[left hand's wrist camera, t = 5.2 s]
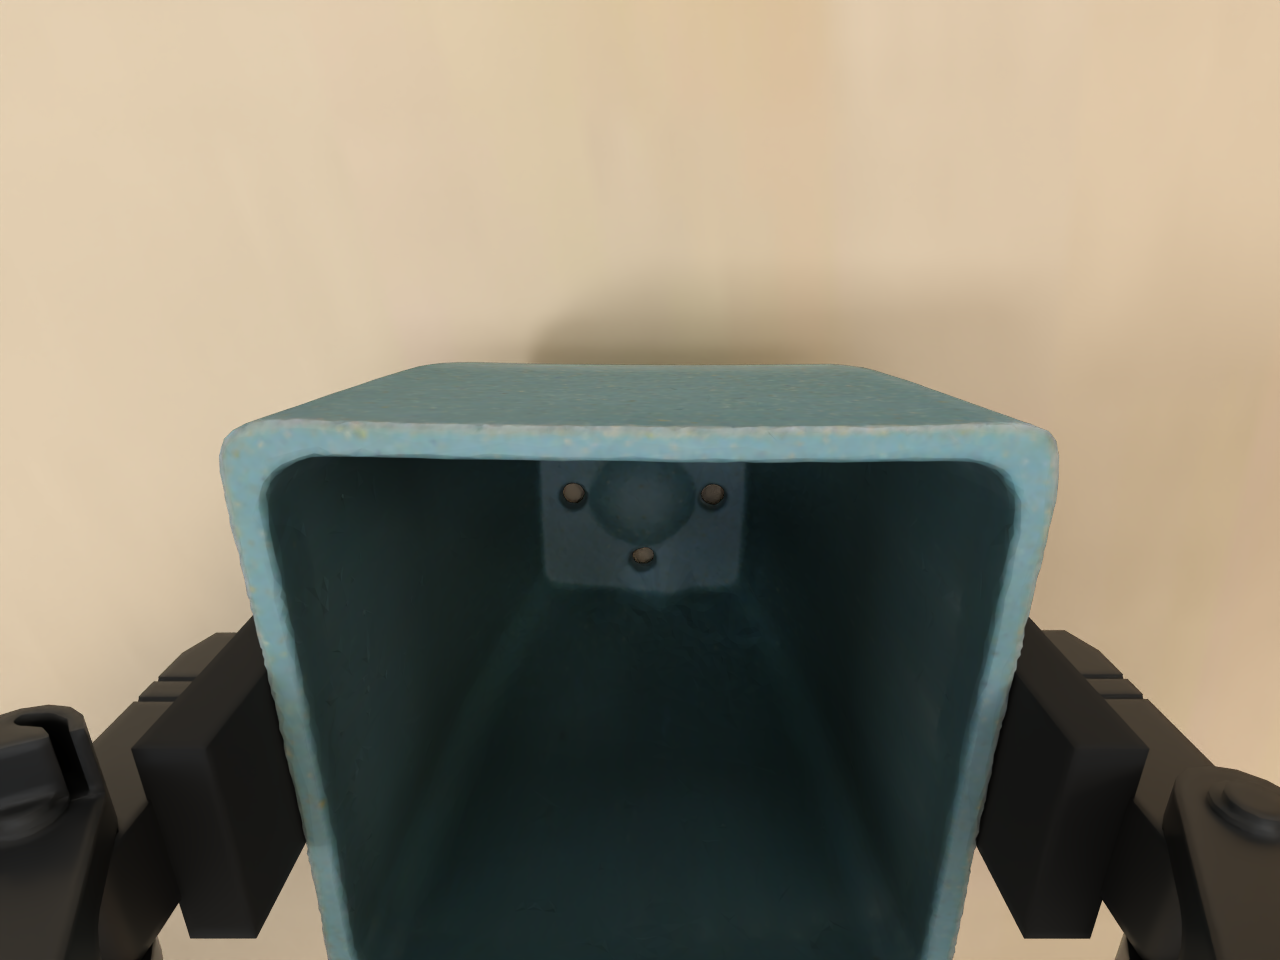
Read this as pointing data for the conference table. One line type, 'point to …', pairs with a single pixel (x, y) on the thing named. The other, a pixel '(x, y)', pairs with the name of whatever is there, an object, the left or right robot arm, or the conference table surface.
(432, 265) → the conference table surface
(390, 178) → the conference table surface
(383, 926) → the square teal planter
